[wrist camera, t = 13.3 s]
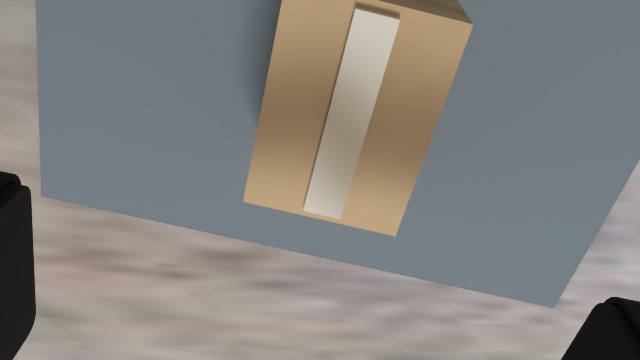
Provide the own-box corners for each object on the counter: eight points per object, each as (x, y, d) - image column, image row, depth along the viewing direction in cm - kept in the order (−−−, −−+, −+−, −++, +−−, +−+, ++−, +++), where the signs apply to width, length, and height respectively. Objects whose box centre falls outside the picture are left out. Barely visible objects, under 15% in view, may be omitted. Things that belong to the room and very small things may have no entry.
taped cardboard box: (300, -47, 18) (285, -22, 14) (452, -8, 18) (474, 26, 15) (261, 145, 22) (242, 204, 18) (390, 175, 22) (395, 240, 18)
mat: (46, 191, 24) (41, 196, 23) (34, -292, 16) (27, -295, 15) (551, 301, 25) (553, 308, 25) (776, -95, 17) (785, -94, 17)
